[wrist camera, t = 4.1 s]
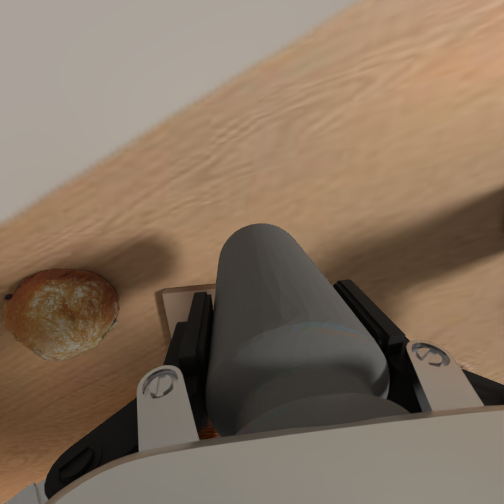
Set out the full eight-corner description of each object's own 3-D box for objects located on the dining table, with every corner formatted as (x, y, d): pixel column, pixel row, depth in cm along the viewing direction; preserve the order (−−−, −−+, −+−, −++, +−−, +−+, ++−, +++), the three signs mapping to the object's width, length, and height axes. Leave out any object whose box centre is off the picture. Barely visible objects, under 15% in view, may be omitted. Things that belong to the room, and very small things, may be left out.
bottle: (209, 288, 18) (136, 780, 4) (231, 211, 16) (249, 631, 2) (283, 304, 19) (442, 733, 5) (312, 235, 17) (713, 609, 3)
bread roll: (106, 324, 33) (110, 373, 28) (2, 327, 27) (-22, 391, 21) (126, 264, 31) (135, 303, 25) (14, 250, 24) (-9, 299, 18)
